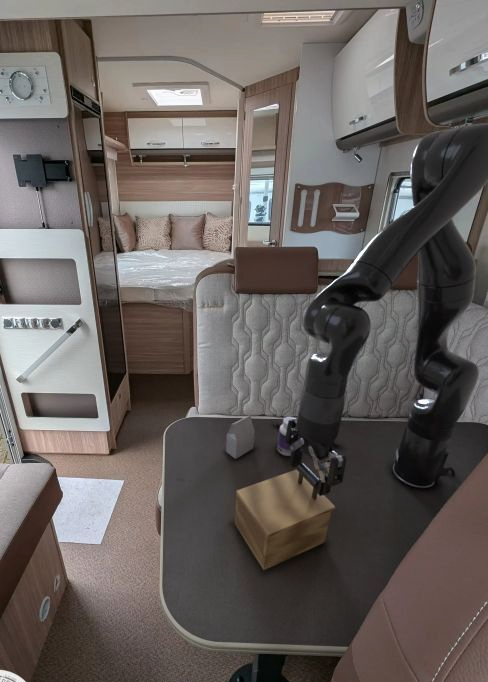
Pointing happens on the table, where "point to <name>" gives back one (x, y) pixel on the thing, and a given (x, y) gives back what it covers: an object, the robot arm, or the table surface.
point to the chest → (279, 537)
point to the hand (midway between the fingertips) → (308, 478)
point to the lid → (285, 500)
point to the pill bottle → (282, 445)
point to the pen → (333, 443)
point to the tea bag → (240, 437)
